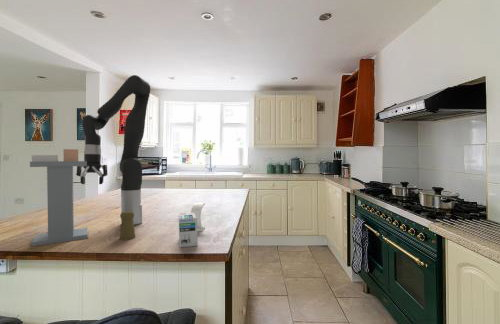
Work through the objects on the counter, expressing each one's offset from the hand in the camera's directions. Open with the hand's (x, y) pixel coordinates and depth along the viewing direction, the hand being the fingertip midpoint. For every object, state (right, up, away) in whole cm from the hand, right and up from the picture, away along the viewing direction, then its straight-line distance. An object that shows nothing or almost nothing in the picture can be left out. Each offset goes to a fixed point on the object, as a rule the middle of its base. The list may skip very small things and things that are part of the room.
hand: (91, 184), depth 135 cm
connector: (+4, +12, -22) cm, 25 cm away
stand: (+5, -20, -28) cm, 35 cm away
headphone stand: (+60, -20, -17) cm, 65 cm away
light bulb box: (+59, -20, -35) cm, 72 cm away
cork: (+33, -20, -29) cm, 48 cm away
